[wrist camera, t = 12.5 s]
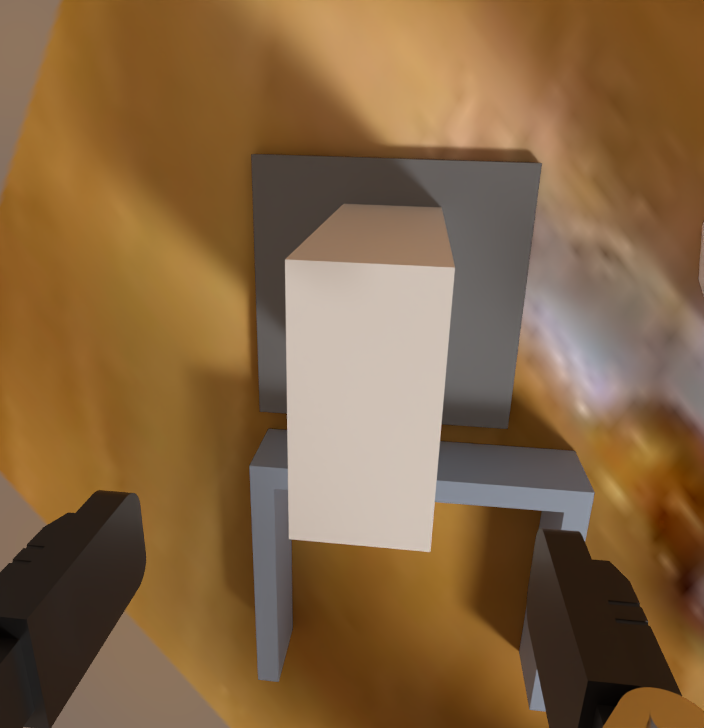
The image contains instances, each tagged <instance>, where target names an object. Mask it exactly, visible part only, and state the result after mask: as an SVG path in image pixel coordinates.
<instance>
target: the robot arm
mask: <svg viewBox="0 0 704 728" xmlns="http://www.w3.org/2000/svg"><path fill="white" fill-rule="evenodd" d="M145 566H146V551H145V542H144V534H143V525H142V516H141V508H140V501H139V498H138V496H137V495H136V494H135V493H126V492H114V491H102V490H99V491H96V492H95V493H94V494H93V495H92V496H91V497H90V498H89V499H88V500H87V501H86V502H85V503H84V504H83V505H82V507H81V508H80V509H79V510H78V511H77V512H76V513H67V514H65V515H63V516H62V517H60V518H58V519H57V520H55V521H53V522H52V523H50V524H48V525H47V526H45V527H43V529H42V530H41V531H40V532H39V533H38V534H37V535H36V536H35V537H34V538H33V539H32V540H31V541H30V542H29V543H28V544H27V548H23V549H22V550H21V551H20V552H19V553H18V554H17V556H16V557H15V558H14V559H13V562H12V563H9V564H8V565H7V566H6V567H5V568H4V569H3V570H2V571H1V572H0V728H23V727H30V728H51V727H52V725H53V724H54V722H55V720H56V719H57V717H58V716H59V714H60V713H61V711H62V709H63V707H64V706H65V704H66V703H67V701H68V700H69V698H70V697H71V695H72V693H73V692H74V690H75V689H76V687H77V686H78V684H79V682H80V681H81V679H82V678H83V676H84V674H85V673H86V671H87V670H88V668H89V666H90V664H91V663H92V662H93V660H94V658H95V657H96V655H97V654H98V652H99V650H100V649H101V647H102V646H103V644H104V642H105V641H106V639H107V638H108V636H109V634H110V633H111V631H112V629H113V628H114V626H115V625H116V623H117V622H118V620H119V618H120V617H121V615H122V614H123V612H124V610H125V609H126V607H127V606H128V604H129V603H130V601H131V599H132V598H133V596H134V595H135V593H136V591H137V590H138V588H139V586H140V584H141V582H142V579H143V576H144V572H145ZM639 604H640V603H639V601H638V598H637V596H636V594H635V592H634V590H633V588H632V585H631V583H630V581H629V580H628V579H627V578H626V577H625V576H624V575H623V574H622V573H621V572H620V571H619V570H618V569H617V568H616V567H615V566H614V565H613V564H612V563H611V562H610V561H603V560H592V559H591V556H590V554H589V551H588V549H587V546H586V544H585V541H584V539H583V536H582V534H581V533H580V532H579V531H569V530H557V529H545V528H539V530H538V532H537V535H536V540H535V546H534V553H533V559H532V566H531V572H530V579H529V585H528V592H527V622H528V628H529V633H530V638H531V643H532V647H533V652H534V657H535V662H536V667H537V671H538V676H539V681H540V686H541V690H542V695H543V700H544V705H545V709H546V714H547V719H548V724H549V728H704V711H703V710H702V709H701V708H699V707H698V706H697V705H696V704H694V703H692V702H691V701H689V700H688V699H686V698H684V697H682V695H681V692H680V690H679V688H678V686H677V684H676V681H675V679H674V677H673V675H672V673H671V671H670V668H669V666H668V664H667V662H666V660H665V657H664V655H663V653H662V651H661V649H660V646H659V644H658V642H657V640H656V638H655V636H654V633H653V631H652V629H651V627H650V626H648V620H647V618H646V616H645V614H644V612H643V609H642V608H641V607H640V605H639Z"/></svg>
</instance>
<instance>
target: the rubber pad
mask: <svg viewBox="0 0 704 728" xmlns="http://www.w3.org/2000/svg"><path fill="white" fill-rule="evenodd" d="M251 160H252V191H253V221H254V251H255V282H256V312H257V343H258V373H259V404H260V412H273V413H287V369H286V297H285V259H286V258H287V257H288V256H289V255H290V254H291V253H292V252H293V251H294V250H295V249H297V248H298V247H299V246H300V245H301V244H302V243H303V242H304V241H305V240H306V239H307V238H308V237H309V236H310V235H311V234H312V233H313V232H314V231H315V230H317V229H318V228H319V227H320V226H321V225H322V224H323V223H324V222H325V221H326V220H327V219H328V218H329V217H330V216H331V215H332V214H333V213H334V212H335V211H337V210H338V209H339V208H340V207H341V206H342V205H343V204H365V205H391V206H416V207H442V211H443V216H444V220H445V225H446V229H447V234H448V238H449V243H450V247H451V252H452V256H453V261H454V265H455V274H454V285H453V297H452V308H451V320H450V331H449V343H448V354H447V366H446V378H445V389H444V401H443V412H442V424H444V425H459V426H473V427H487V428H501V429H508V422H509V414H510V407H511V399H512V391H513V383H514V376H515V368H516V360H517V352H518V345H519V337H520V329H521V321H522V314H523V306H524V298H525V290H526V283H527V275H528V267H529V259H530V251H531V244H532V236H533V228H534V220H535V213H536V205H537V197H538V189H539V182H540V174H541V166H542V163H533V162H500V161H467V160H435V159H402V158H370V157H337V156H305V155H272V154H251Z"/></svg>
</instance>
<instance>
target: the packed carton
mask: <svg viewBox="0 0 704 728" xmlns="http://www.w3.org/2000/svg"><path fill="white" fill-rule="evenodd" d="M454 274H455V265H454V261H453V256H452V252H451V247H450V243H449V238H448V234H447V229H446V225H445V220H444V216H443V211H442V207H416V206H391V205H365V204H343V205H342V206H341V207H340V208H339V209H338V210H337V211H335V212H334V213H333V214H332V215H331V216H330V217H329V218H328V219H327V220H326V221H325V222H324V223H323V224H322V225H321V226H320V227H319V228H318V229H317V230H315V231H314V232H313V233H312V234H311V235H310V236H309V237H308V238H307V239H306V240H305V241H304V242H303V243H302V244H301V245H300V246H299V247H298V248H297V249H295V250H294V251H293V252H292V253H291V254H290V255H289V256H288V257H287V258H286V259H285V297H286V369H287V442H288V514H289V539H293V540H304V541H315V542H326V543H337V544H348V545H359V546H371V547H382V548H393V549H404V550H415V551H426V552H430V550H431V539H432V527H433V516H434V504H435V493H436V481H437V470H438V458H439V447H440V435H441V424H442V412H443V401H444V389H445V378H446V366H447V354H448V343H449V331H450V320H451V308H452V297H453V285H454Z"/></svg>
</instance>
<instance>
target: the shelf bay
mask: <svg viewBox="0 0 704 728" xmlns="http://www.w3.org/2000/svg"><path fill="white" fill-rule="evenodd" d="M249 468H250V493H251V517H252V541H253V566H254V590H255V614H256V639H257V663H258V680H266V681H275V682H279V679H280V675H281V672H282V668H283V664H284V660H285V656H286V653H287V649H288V645H289V641H290V637H291V633H292V630H293V615H292V541H291V539H289V514H288V442H287V430H280V429H268V431H267V433H266V435H265V436H264V438H263V440H262V442H261V444H260V446H259V448H258V450H257V452H256V454H255V456H254V458H253V460H252V462H251V464H250V466H249ZM593 498H594V490H593V488H592V486H591V484H590V482H589V480H588V478H587V476H586V473H585V471H584V469H583V467H582V465H581V463H580V461H579V458H578V456H577V454H576V452H575V451H569V450H556V449H542V448H528V447H514V446H500V445H487V444H473V443H459V442H445V441H440V447H439V458H438V470H437V481H436V493H435V502H442V503H454V504H467V505H479V506H491V507H503V508H516V509H528V510H540V511H542V512H541V519H540V525H539V528H545V529H557V530H569V531H579V532H580V533H581V534H582V536H583V539H584V541H585V540H586V535H587V529H588V524H589V519H590V514H591V509H592V504H593ZM519 654H520V660H521V665H522V671H523V676H524V682H525V687H526V693H527V698H528V704H529V709H530V710H536V711H545V712H546V709H545V705H544V700H543V695H542V690H541V686H540V681H539V676H538V671H537V667H536V662H535V657H534V652H533V647H532V643H531V638H530V633H529V628H528V622H527V606H526V612H525V619H524V625H523V631H522V637H521V644H520V650H519Z"/></svg>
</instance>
